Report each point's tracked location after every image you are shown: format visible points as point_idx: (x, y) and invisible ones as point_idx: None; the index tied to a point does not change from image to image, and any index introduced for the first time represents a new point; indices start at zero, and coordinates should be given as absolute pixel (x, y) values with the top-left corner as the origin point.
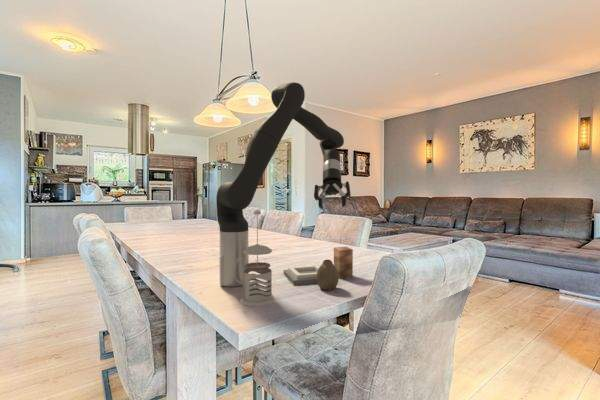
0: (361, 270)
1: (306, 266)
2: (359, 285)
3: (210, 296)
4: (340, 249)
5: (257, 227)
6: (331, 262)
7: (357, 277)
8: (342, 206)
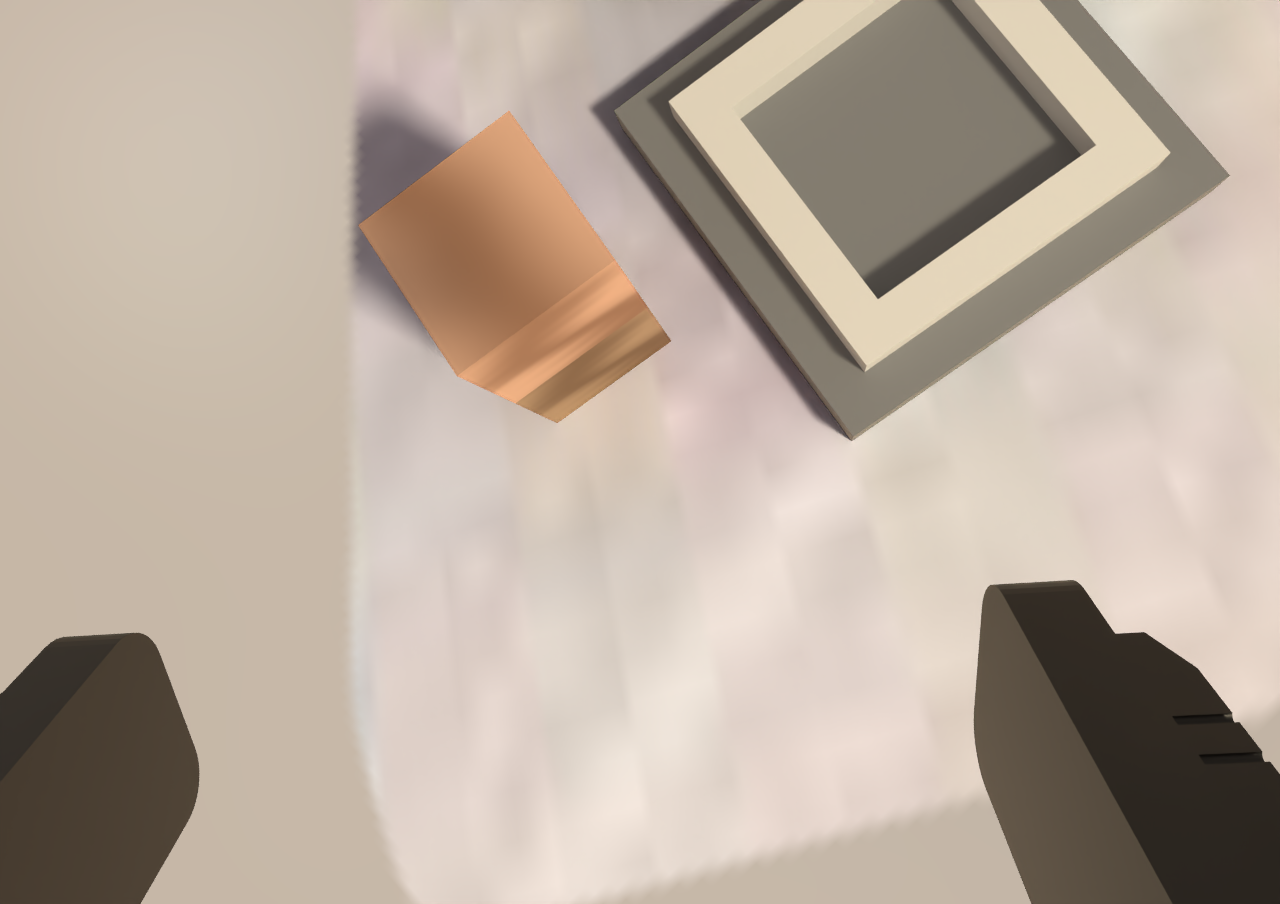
0: (431, 617)
1: (973, 268)
2: (401, 106)
3: None
4: (503, 152)
5: None
6: None
7: None
8: (179, 709)
